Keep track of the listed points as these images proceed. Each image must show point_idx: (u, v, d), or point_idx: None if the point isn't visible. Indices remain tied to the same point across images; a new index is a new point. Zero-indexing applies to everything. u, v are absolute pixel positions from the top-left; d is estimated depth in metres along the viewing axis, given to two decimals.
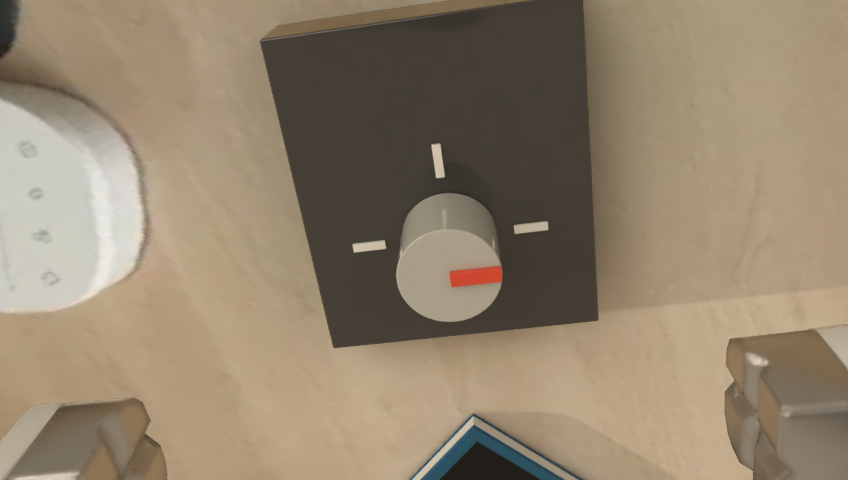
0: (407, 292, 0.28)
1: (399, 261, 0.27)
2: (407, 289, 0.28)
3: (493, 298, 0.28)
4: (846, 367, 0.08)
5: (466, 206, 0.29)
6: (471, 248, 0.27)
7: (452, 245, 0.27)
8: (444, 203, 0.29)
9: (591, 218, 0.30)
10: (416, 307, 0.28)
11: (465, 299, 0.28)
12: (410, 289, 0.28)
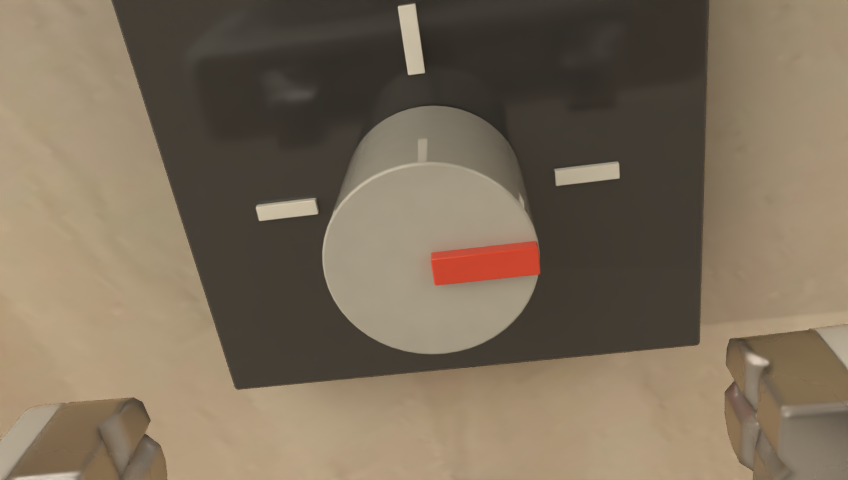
0: (346, 295, 0.14)
1: (327, 231, 0.13)
2: (346, 288, 0.14)
3: (520, 308, 0.14)
4: (846, 367, 0.08)
5: (466, 126, 0.15)
6: (476, 204, 0.13)
7: (437, 197, 0.13)
8: (423, 121, 0.15)
9: (701, 155, 0.16)
10: (365, 325, 0.14)
11: (463, 310, 0.14)
12: (352, 290, 0.14)
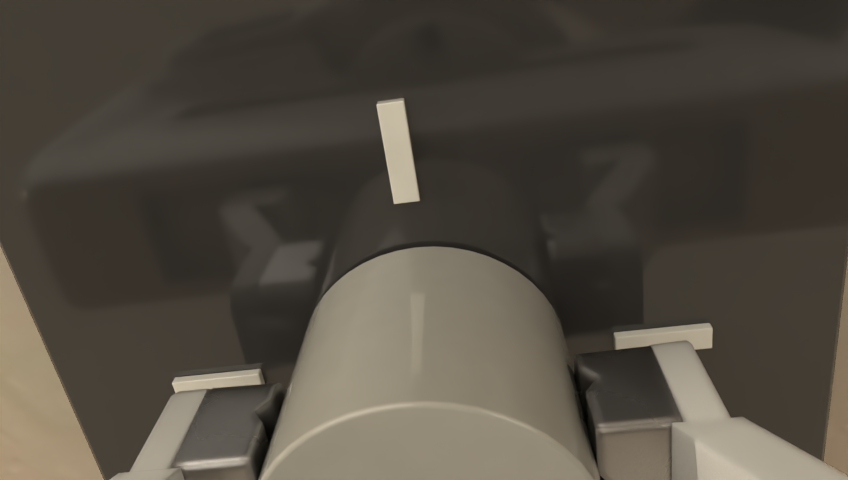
0: None
1: None
2: None
3: None
4: (668, 384, 0.09)
5: (484, 292, 0.09)
6: (506, 464, 0.07)
7: (439, 454, 0.07)
8: (416, 284, 0.09)
9: (835, 315, 0.11)
10: None
11: None
12: None
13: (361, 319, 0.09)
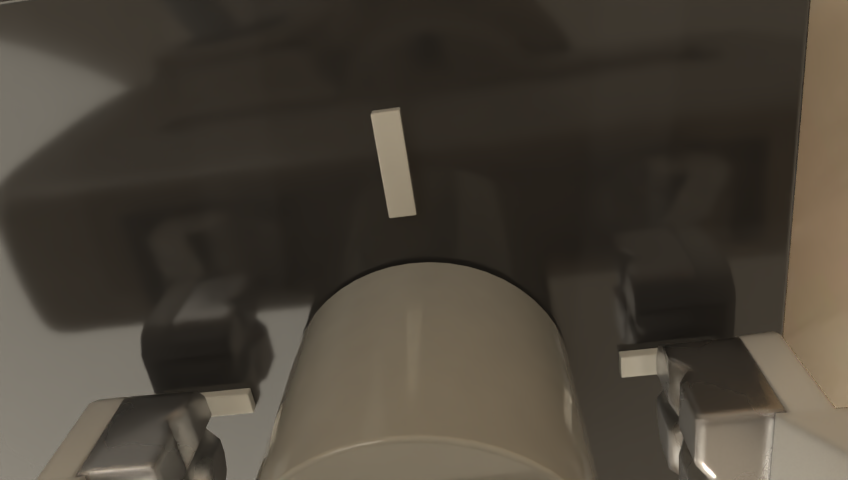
0: None
1: None
2: None
3: None
4: (764, 375, 0.08)
5: (482, 312, 0.09)
6: None
7: None
8: (410, 303, 0.09)
9: None
10: None
11: None
12: None
13: (352, 342, 0.08)
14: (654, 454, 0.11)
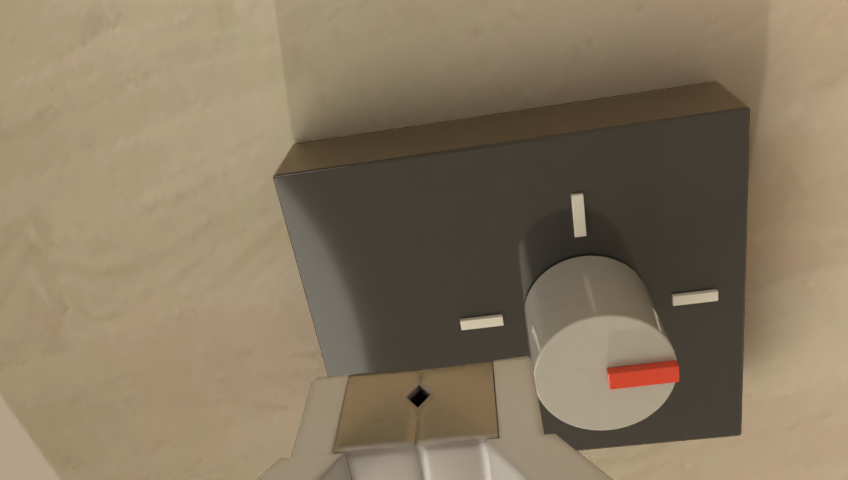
0: (547, 395, 0.21)
1: (538, 356, 0.20)
2: (548, 390, 0.21)
3: (663, 400, 0.21)
4: (497, 400, 0.09)
5: (618, 275, 0.22)
6: (638, 338, 0.20)
7: (612, 335, 0.20)
8: (588, 272, 0.22)
9: (569, 136, 0.21)
10: (558, 413, 0.21)
11: (624, 402, 0.21)
12: (552, 391, 0.21)
13: (569, 287, 0.21)
14: (688, 343, 0.24)
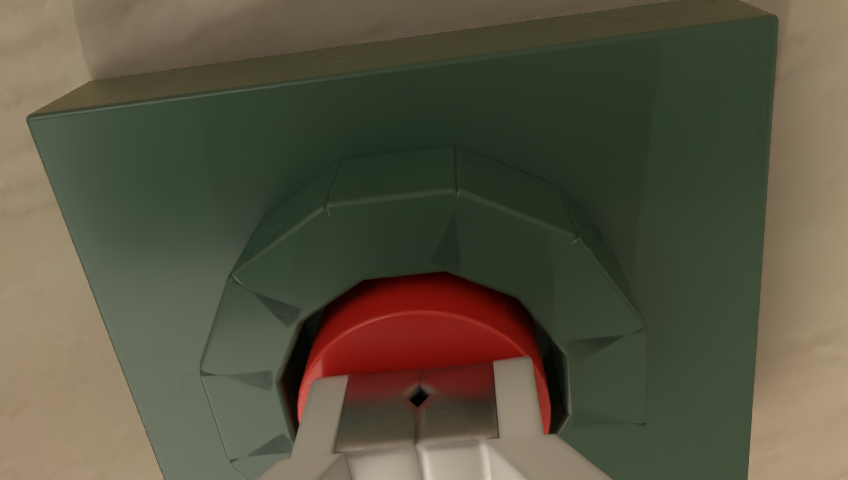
0: None
1: None
2: None
3: None
4: (497, 400, 0.09)
5: None
6: None
7: None
8: None
9: None
10: None
11: None
12: None
13: None
14: None
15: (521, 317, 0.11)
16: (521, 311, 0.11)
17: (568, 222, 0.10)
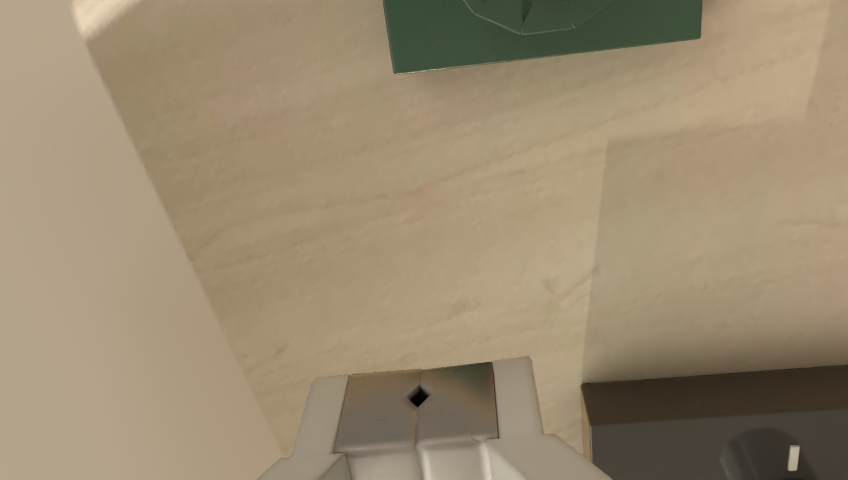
0: None
1: None
2: None
3: None
4: (497, 400, 0.09)
5: None
6: None
7: None
8: None
9: (796, 413, 0.32)
10: None
11: None
12: None
13: None
14: None
15: None
16: None
17: None
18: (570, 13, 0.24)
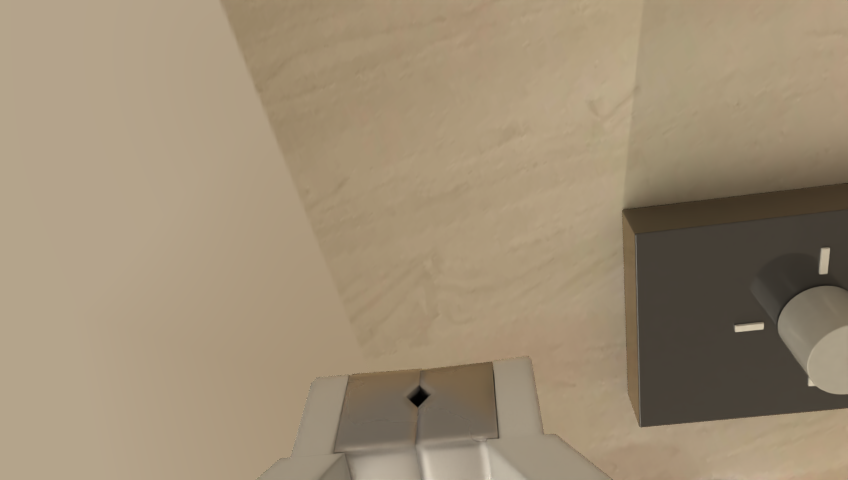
0: (814, 371, 0.34)
1: (813, 348, 0.34)
2: (815, 369, 0.34)
3: None
4: (497, 400, 0.09)
5: None
6: None
7: None
8: (833, 296, 0.35)
9: (826, 214, 0.35)
10: (818, 383, 0.35)
11: None
12: (817, 369, 0.34)
13: (823, 306, 0.35)
14: None
15: None
16: None
17: None
18: None
